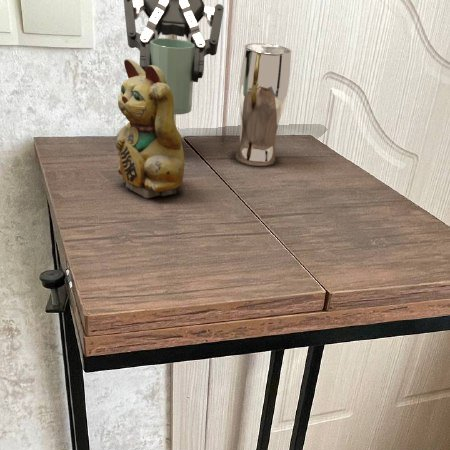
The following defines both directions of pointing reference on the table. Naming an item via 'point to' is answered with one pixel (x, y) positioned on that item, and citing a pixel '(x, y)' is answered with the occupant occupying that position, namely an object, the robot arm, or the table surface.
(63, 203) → the table surface
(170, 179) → the decorative figurine
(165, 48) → the cup
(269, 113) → the beer glass
